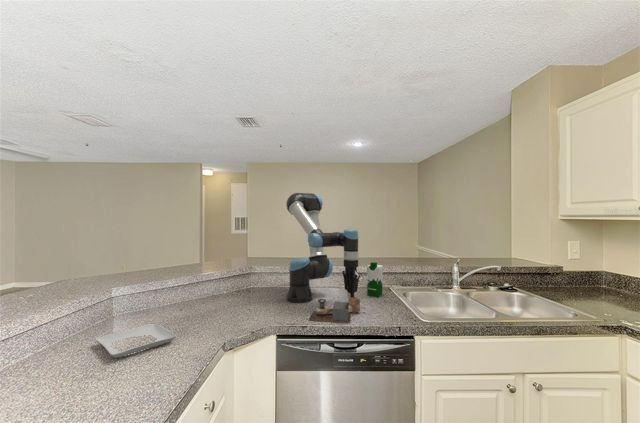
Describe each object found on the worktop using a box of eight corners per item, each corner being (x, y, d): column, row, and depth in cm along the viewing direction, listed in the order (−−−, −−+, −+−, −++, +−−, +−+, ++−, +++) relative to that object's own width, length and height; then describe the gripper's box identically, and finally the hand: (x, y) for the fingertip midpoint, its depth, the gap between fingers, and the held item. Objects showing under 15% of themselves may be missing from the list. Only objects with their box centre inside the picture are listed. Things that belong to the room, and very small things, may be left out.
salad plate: (155, 329, 124) (155, 321, 124) (177, 343, 110) (178, 334, 110) (93, 346, 107) (93, 337, 107) (111, 365, 94) (111, 355, 94)
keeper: (308, 320, 133) (308, 304, 133) (313, 312, 146) (313, 297, 146) (350, 323, 131) (350, 306, 131) (351, 313, 143) (351, 298, 143)
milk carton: (365, 295, 176) (365, 262, 176) (371, 292, 184) (371, 260, 184) (379, 297, 171) (379, 264, 172) (384, 294, 179) (384, 261, 179)
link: (318, 315, 138) (318, 302, 138) (315, 311, 143) (315, 299, 143) (360, 311, 143) (360, 299, 143) (356, 308, 148) (356, 296, 148)
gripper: (338, 258, 154) (337, 302, 153) (352, 261, 142) (352, 309, 142) (349, 257, 157) (349, 300, 157) (364, 260, 146) (364, 307, 146)
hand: (350, 304), depth 150 cm, fingers closed
